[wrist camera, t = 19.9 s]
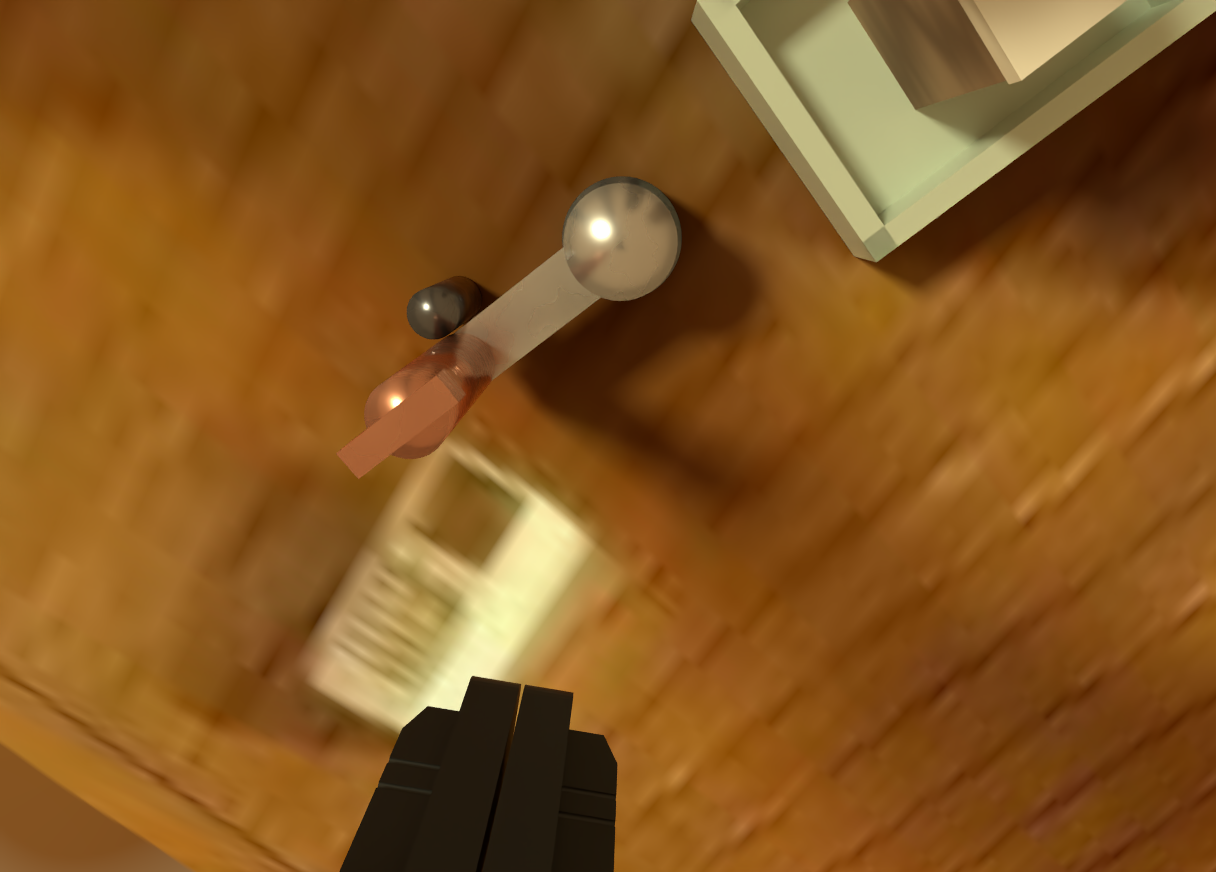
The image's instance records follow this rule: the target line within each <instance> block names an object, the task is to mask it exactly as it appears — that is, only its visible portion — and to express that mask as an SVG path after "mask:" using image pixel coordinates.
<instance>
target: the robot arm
mask: <svg viewBox="0 0 1216 872" xmlns="http://www.w3.org/2000/svg"><path fill="white" fill-rule="evenodd" d="M520 689H521V684H517V683H511V682H505V681H499V680H493V679H487V678H481V677H476V676H472V677H471V679H470V682H469V685H468V688H467V691H466V693H465V696H464V699H463V702H462V705H461V708H460V711H453V710H447V709H441V708H435V707H430V706H427V707H426V708H425V709H424V710H423V711H422V712H421V713H419V714H418V715H417V716H416V717H415V718H414V719H413V720H411V721H410V722H409V723H408V724H407V725H406V726H405V727H403V728H402V730H401V733H400V735H399V737H398V740H397V742H396V744H395V746H394V749H393V751H392V753H391V755H390V759H389V762H388V763H387V765H386V767H385V769H384V771H383V774H382V776H381V778H380V780H379V784H378V788H376V790H375V792H374V794H373V796H372V799H371V801H370V803H369V806H368V808H367V810H366V812H365V815H364V817H363V819H362V821H361V824H360V826H359V828H358V831H357V833H356V835H355V837H354V840H353V842H352V844H351V847H350V849H349V851H348V853H347V856H346V858H345V860H344V862H343V865H342V867H341V869H340V872H614V847H615V817H616V801H615V800H616V788H617V762H616V760H615V758H614V756H613V754H612V752H611V750H610V747H609V745H608V743H607V741H606V739H605V737H604V735H599V734H593V733H587V732H581V731H575V730H569V725H570V717H571V710H572V702H573V693H572V692H566V691H560V690H554V689H548V688H542V687H536V686H530V685H525V687H524V691H523V695H522V700H521V704H520V708H519V713H518V717H517V722H516V715H517V709H518V703H519V696H520ZM515 722H516V726H515ZM514 728H515V730H514ZM513 734H514V735H513Z"/></svg>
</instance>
